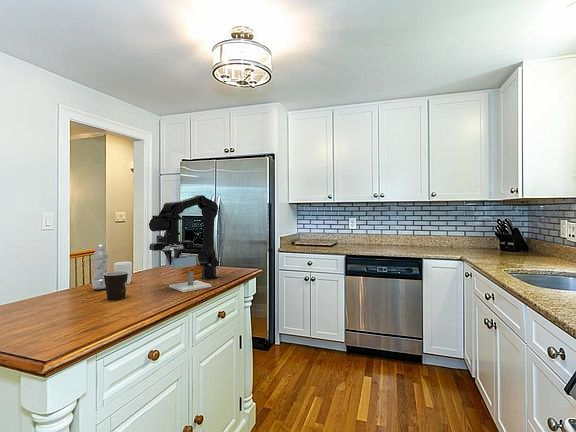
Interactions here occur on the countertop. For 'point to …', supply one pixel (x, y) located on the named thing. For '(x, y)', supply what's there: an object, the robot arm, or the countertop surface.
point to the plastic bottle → (100, 266)
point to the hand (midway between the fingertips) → (172, 264)
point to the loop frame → (182, 261)
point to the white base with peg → (190, 284)
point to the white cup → (124, 269)
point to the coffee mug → (116, 285)
